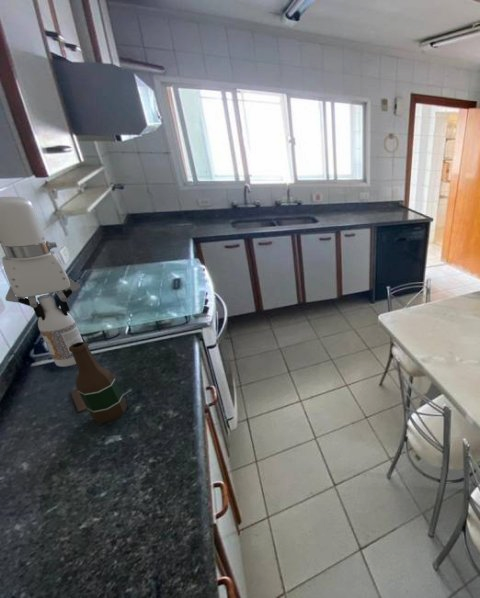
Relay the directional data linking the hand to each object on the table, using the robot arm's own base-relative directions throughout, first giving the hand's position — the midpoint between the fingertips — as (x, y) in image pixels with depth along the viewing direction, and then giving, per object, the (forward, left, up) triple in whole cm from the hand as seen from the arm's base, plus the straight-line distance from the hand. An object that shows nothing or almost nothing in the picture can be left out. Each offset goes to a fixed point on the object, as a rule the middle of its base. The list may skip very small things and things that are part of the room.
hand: (54, 315), depth 88 cm
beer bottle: (+3, -12, -29) cm, 31 cm away
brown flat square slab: (+3, +1, -29) cm, 29 cm away
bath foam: (0, 0, -15) cm, 15 cm away
